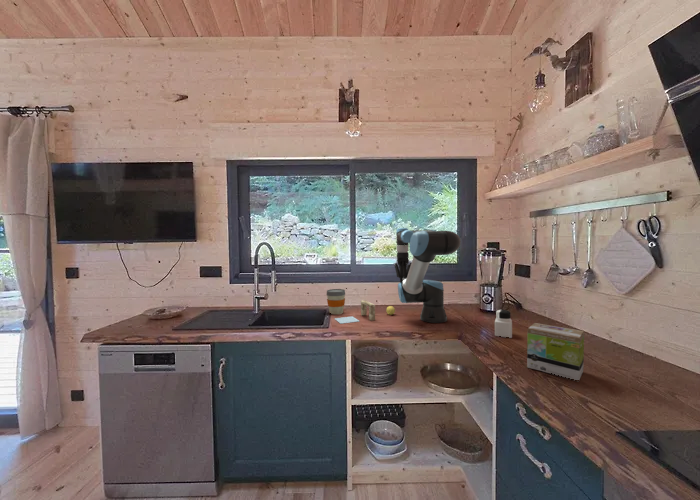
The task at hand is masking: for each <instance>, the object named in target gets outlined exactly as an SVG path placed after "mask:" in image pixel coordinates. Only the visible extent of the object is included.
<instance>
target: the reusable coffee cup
mask: <svg viewBox="0 0 700 500" xmlns="http://www.w3.org/2000/svg"><path fill="white" fill-rule="evenodd" d="M345 296H346V290H345V289H341V288H332V289H331V288H330V289H327V290H326V297H327V299H326V301H327V306H328V311H329V314H330V313H331V314H330V315H341V314H343V313H344V307H345V303H346V297H345Z"/></svg>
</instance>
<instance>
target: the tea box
mask: <svg viewBox="0 0 700 500" xmlns="http://www.w3.org/2000/svg"><path fill="white" fill-rule="evenodd" d="M526 337H527V339H526V341H527V342H526V345H527V349H526V350H527V351H526V354H527V355H526V358H527V360H526V365H527V369H528V368H529V369H533V370H537V371H541V372H543V373H547V374H551V373H552V374H551V375H554V374H555V375H554V376H558V375H559V376H558V377H561V376H562V377H561V378H565V377H566V378H565V379H568V378H570V379H569V380H571V379H574V380H573V381H575V380H579V381H580V379H581V377H582V375H583V372H584V362H585V361H584V359H585V356H584V353H585V352H584V350H585V343H584V342H585V331H584V330H578V329H573V328H568V327H561V326H557V325H549V324H544V323H539V322H538V323H537V322H533V324H532V325H530V326H529V327H528V328H527V336H526Z"/></svg>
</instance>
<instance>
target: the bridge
mask: <svg viewBox="0 0 700 500" xmlns="http://www.w3.org/2000/svg"><path fill="white" fill-rule="evenodd" d="M367 307H368V308H367ZM367 309H368V310H367ZM367 311H368V312H367ZM367 313H368V314H367ZM360 315H361V316H362V317H363V316H367V315H368V320H369V321H376V304H374V303H372V302H370V301H367V300H360Z"/></svg>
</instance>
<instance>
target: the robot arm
mask: <svg viewBox="0 0 700 500" xmlns="http://www.w3.org/2000/svg"><path fill="white" fill-rule="evenodd" d="M395 232H396V233H395V234H396V262H393V266H394V270H395V273H396V277H397V278H399V283H398V284H397V293H398V298H399V301H400V302H401V303H402V304H413V303H415V304H416V303H419V304H420V303H422V309H421V313H420V315H419V316H420V320H421V321H422V322H425V323H431V324H432V323H433V324H437V323H438V324H440V323H446V322H447V321H448V316H447V313H446V311H445V307H444V300H445V299H444V297H445V296H444V291H445V290H444V283H443V282H441V281H438V280H432V279H425V275H426V274H427V271H428V269H429V266H430V263H431V262H433V261H434V260H435V258H436V257H437V256H447V255H451V254H454V253H455V252H457V251H458V250H459V248H460V247H461V237H460V235H458V234H457V233H456V232H454V231H451V230H435V229H425V230H424V229H423V230H421V229H420V230H419V229H418V230H416V229H415V230H414V229H413V230H410V229H409V228H407V227H399V228H396V231H395ZM409 253H410V254H411V255H412V260H411V262H410V259H409V257H410V255H409Z"/></svg>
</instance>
